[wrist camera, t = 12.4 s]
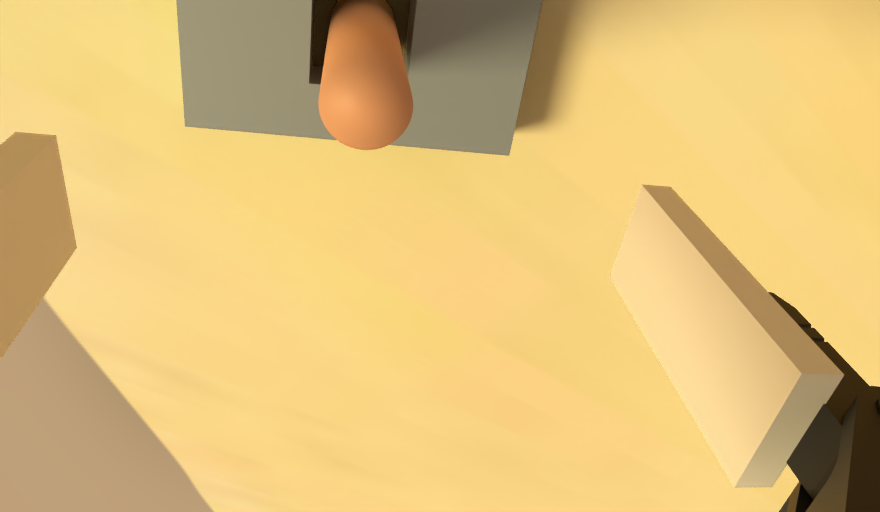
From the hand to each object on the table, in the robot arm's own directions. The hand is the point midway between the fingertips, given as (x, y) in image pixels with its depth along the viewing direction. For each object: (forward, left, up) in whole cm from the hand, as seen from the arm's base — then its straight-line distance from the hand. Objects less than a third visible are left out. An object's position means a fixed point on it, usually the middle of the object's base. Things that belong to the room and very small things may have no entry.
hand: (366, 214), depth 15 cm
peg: (0, 0, -20) cm, 20 cm away
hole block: (0, 0, -20) cm, 20 cm away
